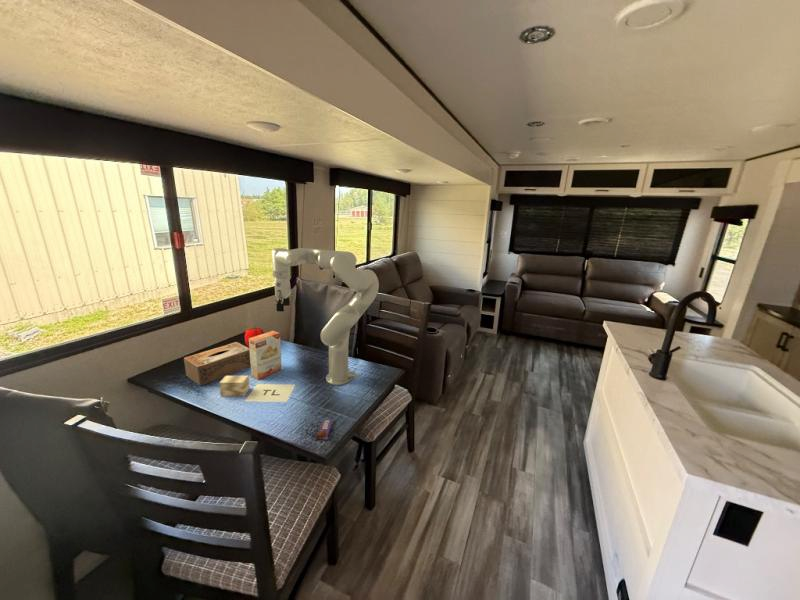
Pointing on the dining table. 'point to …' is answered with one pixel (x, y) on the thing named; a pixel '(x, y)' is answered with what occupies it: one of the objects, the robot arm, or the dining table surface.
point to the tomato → (252, 334)
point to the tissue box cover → (217, 363)
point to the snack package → (325, 429)
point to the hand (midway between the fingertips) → (283, 308)
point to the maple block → (234, 385)
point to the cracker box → (265, 354)
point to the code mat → (270, 393)
